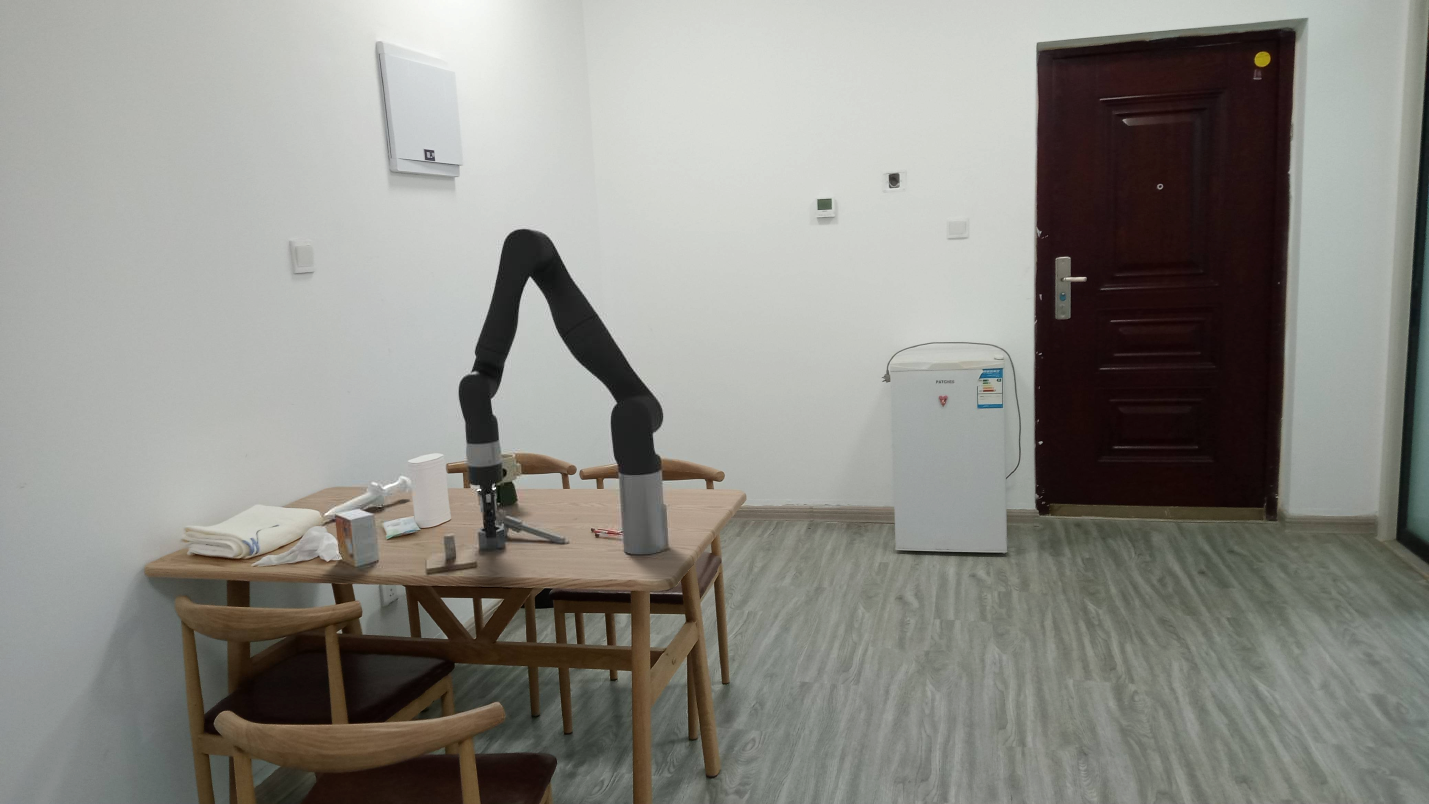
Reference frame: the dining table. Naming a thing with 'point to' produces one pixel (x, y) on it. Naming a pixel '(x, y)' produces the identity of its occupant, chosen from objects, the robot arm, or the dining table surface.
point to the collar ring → (491, 539)
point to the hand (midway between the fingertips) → (489, 532)
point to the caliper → (525, 528)
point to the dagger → (372, 496)
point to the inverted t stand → (450, 557)
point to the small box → (357, 537)
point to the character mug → (507, 481)
